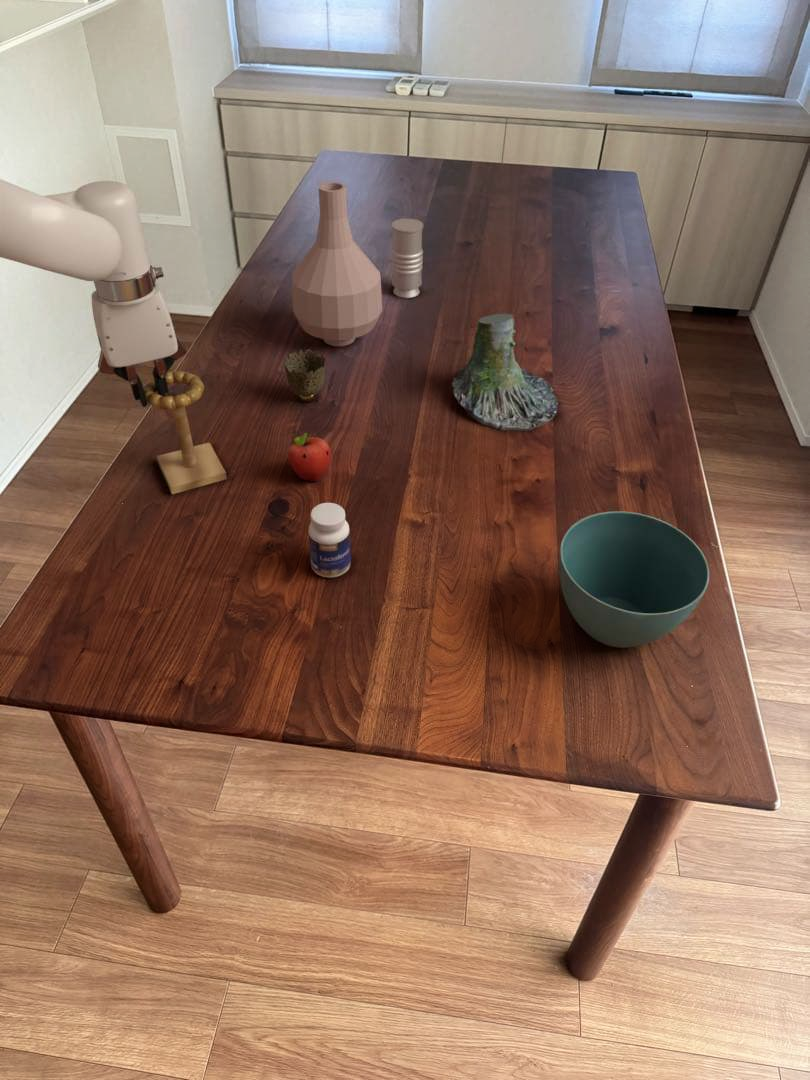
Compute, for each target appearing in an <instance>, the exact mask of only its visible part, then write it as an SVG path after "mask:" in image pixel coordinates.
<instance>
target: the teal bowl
mask: <svg viewBox="0 0 810 1080" xmlns="http://www.w3.org/2000/svg"><path fill="white" fill-rule="evenodd" d="M558 555H559V556H558V572H559V574H558V575H559V582H560V588H561V591H562V594H563V597H564V600H565V601H564V602H565V603H566V606H567V608H568V610H569V612H570V613H571V616H572V618H573V619H574V620H575V622H576V623H577V624H578V625H579V626H580V628H581V629H582V630H583V631H584V632H585V633H586V634H588V636H590V637H591V638H592V639H594V640H595V641H597V642H598V643H600V644H603V645H605V646H609V647H613V648H619V649H621V648H622V649H625V648H626V649H627V648H635V647H640V646H644V645H647V644H648V645H649V644H650V643H653V642H656V641H658V640H660V639H661V638H663V637H665V636H667V635H668V634H670V633H672V631H674V630H675V629H677V628H678V627H679V626H680V625H681V624H682V623H684V622H685V620H686V619H687V618H688V617H689V616H690V615H691V614H692V613H693V612H694V610H695V609H696V607H697V606H698V604H699V603H700V601H701V600H702V598H703V596H704V594H705V593H706V590H707V588H708V586H709V582H710V568H709V564H708V561H707V558H706V556H705V554H704V552H703V551H702V550H701V548H700V547H699V546H698V545H697V543H696V542H695V541H694V540H693V539H691V537H689V535H687V534H686V533H685V532H683V531H682V530H681V529H679V528H677V527H676V526H674V525H672V524H671V523H669V522H667V521H664V520H662V519H660V518H657V517H654V516H650V515H647V514H643V513H639V512H633V511H623V510H622V511H620V510H619V511H618V510H617V511H615V510H613V511H605V512H604V511H603V512H598V513H593V514H590V515H587V516H586V517H583V518H581V519H579V520H578V521H576V522H575V523H574V524H572V525H571V526H570V527H569V528H568V530H567V531H566V532H565V533H564V535H563V537H562V540H561V543H560V548H559V554H558Z"/></svg>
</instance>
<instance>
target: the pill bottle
mask: <svg viewBox="0 0 810 1080" xmlns="http://www.w3.org/2000/svg"><path fill="white" fill-rule="evenodd" d="M350 532H351V531H350V525H349V523H348V521H347V520H346V511H345V509H344V508H343V507H342V506H341V505H340V504H337V503H334V502H323V503H319V504H317V505H315V506H314V507H313V508H312V510H311V511H310V524H309V526H308V532H307V533H308V543H309V544H308V545H309V558H310V566H311V569H312V571H313V572H314V573H315V574H316V575H318V576H320V577H322V578H327V579H328V578H329V579H332V578H338V577H340V576H342V575H344V574H345V573H347V572H348V570H349V569H350V567H351V563H352V562H351V561H352V559H351V533H350Z"/></svg>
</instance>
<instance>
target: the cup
mask: <svg viewBox="0 0 810 1080" xmlns="http://www.w3.org/2000/svg"><path fill="white" fill-rule="evenodd" d="M287 356H288V357H287ZM287 356H285V357H284V360H282V362H283V365H284V371H285V375H286V379H287V383H288V385H289V387H290V389H291V391H293V393H294V394H296V396H297V398H298V400H299V401H300V402H303V403H312V402H314V401H316V400H317V398H318V393H319V392H320V391H321V390H322V388H323V387H324V383H325V376H326V364H327V360H326V359H327V358H326V357H325V355H324V354H321V355H317V351H315V350H314V351H312V350H311V349H307V350H306V351H304V352H303V350H302V349H300V350H299V352H298V353H297V352H296V351H293V352H292V353H288V355H287Z"/></svg>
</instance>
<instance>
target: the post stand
mask: <svg viewBox="0 0 810 1080" xmlns="http://www.w3.org/2000/svg"><path fill="white" fill-rule="evenodd" d="M171 412H172V417H173V420H174V421H173V422H174V425H175V430H176V434H177V435H176V436H177V438H178V444H179V447H180V449H177V450H175V451H171V452H168V453H163V454H159V455H156V456H155V458H156V462H157V465H158V467H159V469H160V471H161V474H162V476H163V478H164V480H165V482H166V485H167V488H168V490H169V492H170V494H171V495H175V494H179V493H182V492H186V491H189V490H193V489H196V488H200V487H204V486H207V485H212V484H215V483H219V482H222V481H225V480H227V479H228V478H227V471H226V470H225V469H224V467H223V464H222V462H221V461H220V459H219V457H218V456H217V453H216V452H215V450H214V448H213V446H212V444H211V442H205V443H202V444H198V445H194V442H193V438H192V433H191V428H190V425H189V424H190V423H189V419H188V414H187V409H186V406H185V407H181V408H177V409H171Z"/></svg>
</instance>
